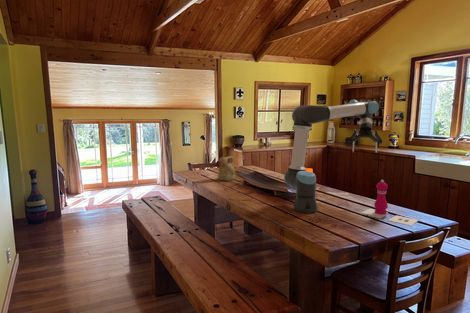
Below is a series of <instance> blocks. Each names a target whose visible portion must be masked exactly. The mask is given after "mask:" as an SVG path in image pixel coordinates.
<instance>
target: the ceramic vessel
mask: <svg viewBox="0 0 470 313" xmlns="http://www.w3.org/2000/svg"><path fill="white" fill-rule="evenodd" d="M233 155H234V152H233V151H229V156H226V157H225V156H221V157H219V160H218V161H219V167H218V172H219V173H218V175H217V179H218V180H220V181H226V182H229V181H234V180H235V178H236V177H235V176H236V169H235V167H234V163H235V162H234V161H235V160H234V156H233ZM228 160H230V162H229V161H228Z"/></svg>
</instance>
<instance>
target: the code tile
mask: <svg viewBox="0 0 470 313" xmlns="http://www.w3.org/2000/svg"><path fill="white" fill-rule="evenodd" d="M387 221H389V222H393V223H396V224H401V225H406V226H410V227H411V226H413V225H415V224H416V223H418V222H419V221H420V220H419V219H416V218H410V217H405V216H401V215H394V216H392V217H391V218H389V219H387Z"/></svg>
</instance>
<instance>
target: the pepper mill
mask: <svg viewBox="0 0 470 313" xmlns="http://www.w3.org/2000/svg"><path fill="white" fill-rule="evenodd" d="M376 189H377V190H376V193H377V196H376V199H375V202H374V205H373V207H374V210H375V213H376V214H381V215H384V214H386V212H387V209H388V207H389V204H388V202H387V199H386V194H387V190H388V183H386V182H385V180H384V179H381V180H380V181H379V182H378V183H377V184H376Z"/></svg>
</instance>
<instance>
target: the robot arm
mask: <svg viewBox="0 0 470 313" xmlns="http://www.w3.org/2000/svg"><path fill="white" fill-rule="evenodd" d="M379 110H380V106H379V103H378V102H377V101H373V100H372V101H371V100H370V101H358V100H356V99H351V100H350V101H349V102H348V103H347V104H340V105H339V104H338V105H332V106H328V105H315V104H314V105H312V104H311V105H310V104H309V105H304V104H303V105H299V106H297V107H295V108H294V109H293V111H292V114H291V118H292V119H291V120H293V127H294V129H295V130H294V138H293V145H292V146H293V147H292V152H291V153H292V154H291V162H290V165H289V166H288V168H287V170H286V172H284V175H283V179H284V183H285V184H286V185H287V186H288V187H289V188H291V189H294V190H295V191H296V192H295V193H296V196H295V199H294V201H293V202H294V203H293V206H292V209H293V210H294V211H295V212H297V213H303V214H312V213H316V212H318V211H319V205H318V203H317V199H316V191H317V190H316V189H317V188H316V187H317V175H316V174H315V173H314V172H313V173H312V172H308V171H306V168H307V167H305V163H306V162H305V160H306V154H307V148H308V147H307V145H308V139H309V134H310V133H309V131H310V130H311V129H312V126H313V125H314V124H319V123H324V122H328V121H329V120H331V119H339V118H346V117H353V116H357V117H358V118H359V130H358V131H357V129H355V130H354V132H353V133H352V135H351V136H350V137H349V138H348V142H347V143H349V144H350V147H351V148H352V153H354V151H355V143H357V142H356V141H358V140H360V139H362V138H363V139H365V138H366V139H367V138H369V139H370V140H372V142H374V143H375V153H378V149H379V148H380V145H382V144H383V139H382V138H381V136H380V135H379V133H378V130H374V131H373V115H374V114H376V113H377V112H379Z"/></svg>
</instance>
